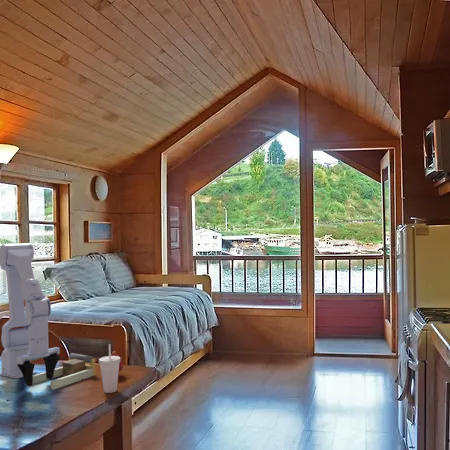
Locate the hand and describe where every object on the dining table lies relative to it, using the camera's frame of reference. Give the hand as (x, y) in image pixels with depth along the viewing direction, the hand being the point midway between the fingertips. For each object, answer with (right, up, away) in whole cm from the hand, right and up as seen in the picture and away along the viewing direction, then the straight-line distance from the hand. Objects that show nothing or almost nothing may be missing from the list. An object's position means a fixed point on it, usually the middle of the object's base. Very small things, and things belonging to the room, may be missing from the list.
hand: (39, 382), depth 161 cm
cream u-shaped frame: (+5, -2, +7) cm, 9 cm away
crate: (+7, -2, +11) cm, 14 cm away
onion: (+21, -1, +11) cm, 23 cm away
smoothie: (+23, -1, -5) cm, 23 cm away
